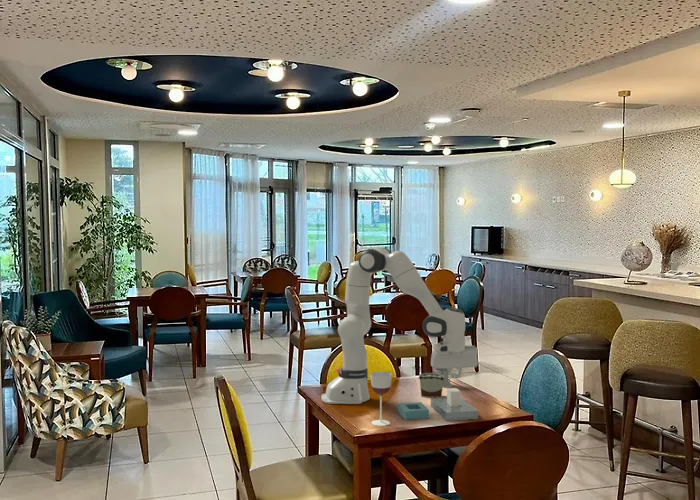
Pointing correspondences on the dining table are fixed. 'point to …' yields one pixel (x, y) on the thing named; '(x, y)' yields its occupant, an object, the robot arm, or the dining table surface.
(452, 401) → the plug
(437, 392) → the food container
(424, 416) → the teal socket base
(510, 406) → the dining table surface
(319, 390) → the dining table surface
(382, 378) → the wineglass
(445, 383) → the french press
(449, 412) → the box
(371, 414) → the dining table surface
